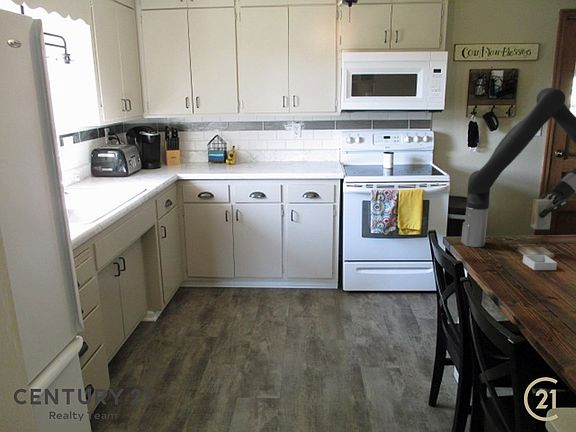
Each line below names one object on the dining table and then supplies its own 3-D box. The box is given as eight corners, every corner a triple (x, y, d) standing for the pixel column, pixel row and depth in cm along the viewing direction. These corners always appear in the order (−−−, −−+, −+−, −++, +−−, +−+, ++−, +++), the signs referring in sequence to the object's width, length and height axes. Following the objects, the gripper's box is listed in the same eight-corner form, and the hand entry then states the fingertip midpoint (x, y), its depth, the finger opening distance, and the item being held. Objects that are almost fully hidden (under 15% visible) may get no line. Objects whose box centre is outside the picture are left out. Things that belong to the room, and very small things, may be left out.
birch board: (528, 257, 203) (528, 254, 202) (517, 250, 212) (517, 247, 211) (553, 257, 203) (554, 254, 203) (542, 250, 212) (542, 247, 212)
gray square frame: (533, 270, 189) (534, 262, 189) (522, 262, 198) (523, 255, 197) (556, 269, 190) (557, 262, 189) (543, 261, 198) (544, 255, 197)
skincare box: (545, 226, 206) (549, 198, 203) (549, 229, 202) (553, 200, 199) (529, 226, 207) (533, 198, 204) (533, 229, 203) (537, 200, 199)
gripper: (552, 176, 207) (522, 205, 209) (574, 183, 193) (541, 213, 195) (563, 188, 208) (532, 216, 211) (585, 196, 194) (552, 226, 197)
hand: (536, 215), depth 203 cm, fingers closed on skincare box, 4 cm apart
